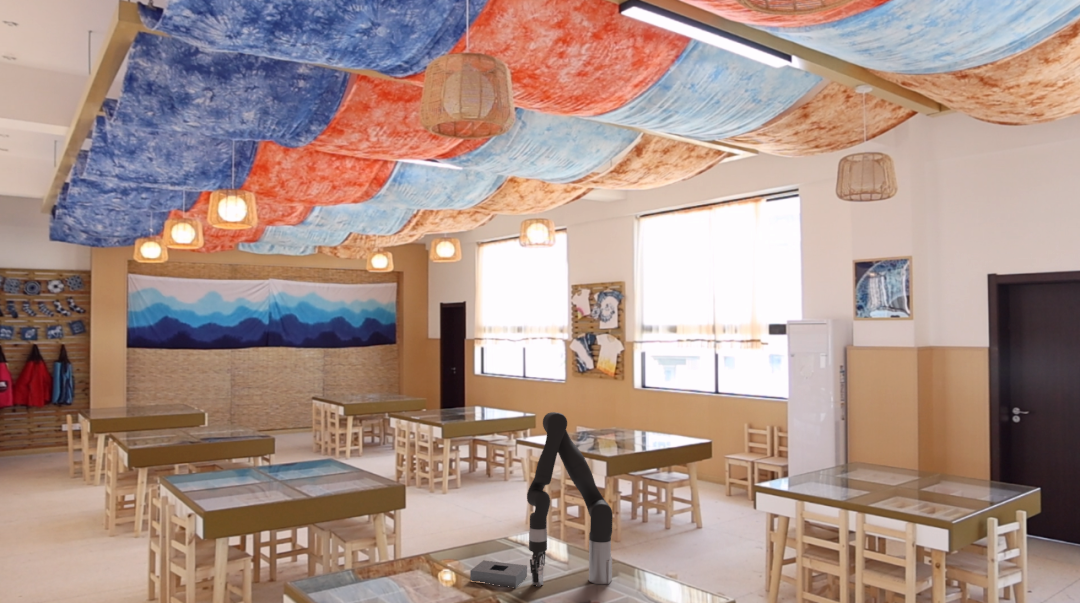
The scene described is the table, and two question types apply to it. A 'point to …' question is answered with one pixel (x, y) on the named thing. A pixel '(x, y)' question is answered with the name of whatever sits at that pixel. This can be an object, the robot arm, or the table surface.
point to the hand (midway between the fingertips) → (537, 580)
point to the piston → (539, 576)
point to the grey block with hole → (499, 573)
